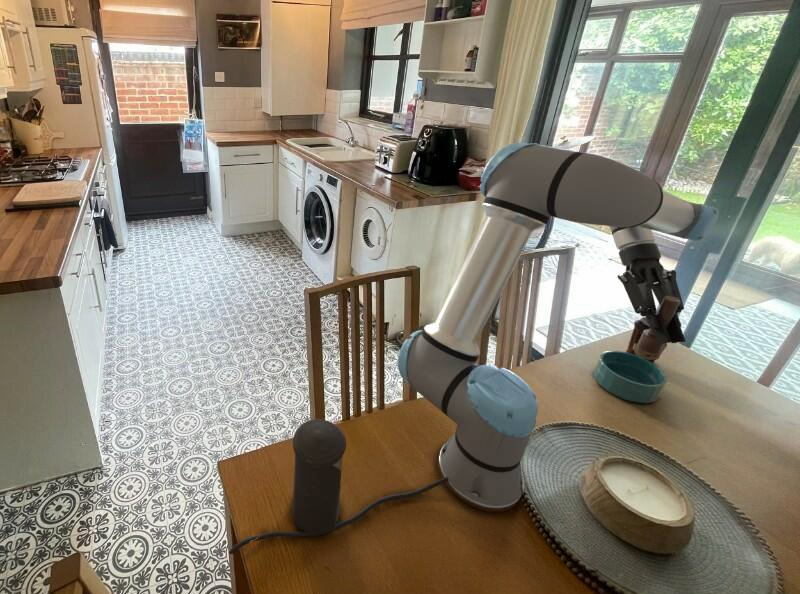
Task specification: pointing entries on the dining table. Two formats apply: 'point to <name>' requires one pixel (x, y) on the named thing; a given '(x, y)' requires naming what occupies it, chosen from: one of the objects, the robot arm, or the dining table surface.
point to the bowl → (629, 376)
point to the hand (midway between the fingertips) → (671, 342)
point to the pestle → (667, 312)
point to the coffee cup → (635, 337)
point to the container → (317, 475)
